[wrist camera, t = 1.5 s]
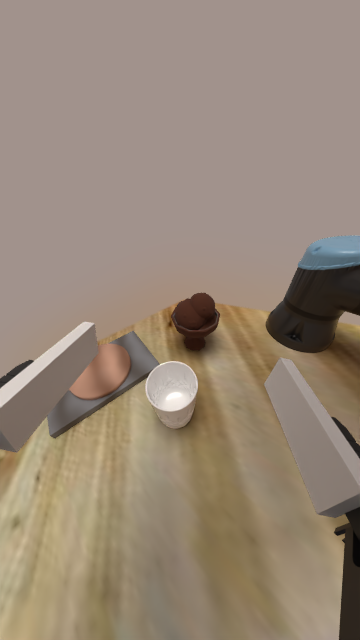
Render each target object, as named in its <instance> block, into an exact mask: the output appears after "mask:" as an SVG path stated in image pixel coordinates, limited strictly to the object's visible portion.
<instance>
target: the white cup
mask: <svg viewBox="0 0 360 640" xmlns="http://www.w3.org/2000/svg"><path fill="white" fill-rule="evenodd" d="M197 389H198V381H197V377H196V375H195V373H194V371H193V370H192V369H191V368H190V367H189V366H188V365H186V364H184V363H181V362H177V361H169V362H165V363H162V364H160V365H158V366H157V367H156V368H154V369H153V370H152V372H151V373H150V374H149V376H148V378H147V381H146V395H147V397H148V400H149V401H150V403H151V405H152V407H153V409H154V411H155V412H156V414H157V416H158V417H159V418H160V420H161V422H162V423H163V424H165V425H166V426H167V427H169V428H174V429H177V428H181V427H184V426H185V425H186V424H187V423H188V422H189V421H190V420H191V417H192V414H193V411H194V407H195V402H196V395H197Z"/></svg>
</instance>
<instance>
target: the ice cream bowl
mask: <svg viewBox="0 0 360 640" xmlns="http://www.w3.org/2000/svg"><path fill="white" fill-rule="evenodd" d="M219 317H220V313H219V312H218V311H217V310H216V309H215V302H214V300H213V299H212V298H211V297H210V296H209V295H208V294H206V293H197V294H194V295H193V296H192V297H191V299H186V300H184V301H181V302H180V303H179V304H178V305H177V307H176V308H175V310H174V311H173V313H172V315H171V318H172V320H173V323H174V325H175V327H176V329H177V331H178V332H179V333H181V334H183V335H185V336H187V337H186V340H185V342H184V343H185V345H186V347H187V348H188V349H190V350H200V349H202V348H203V347H204V345H205V340H204V337H205V336H207V335H209V334H210V333H212V332H213V331H214V330H215V329H216V328H217V325H218V322H219Z"/></svg>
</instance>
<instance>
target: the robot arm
mask: <svg viewBox="0 0 360 640" xmlns="http://www.w3.org/2000/svg"><path fill="white" fill-rule="evenodd" d="M345 311H346V312H350V313H353V314H356V315H359V316H360V236H337V237H330V238H324V239H321V240H318V241H316V242H314V243H312V244H311V245H310V246H309V247H308V248H307V250H306V252H305V254H304V256H303V258H302V260H301V261H300V262H299V263H298V268H297V271H296V273H295V275H294V277H293V280H292V282H291V284H290V286H289V289H288V291H287V293H286V295H285V297H284V299H283V301H282V302H281V303H280V304H279V305H278V306H277V307H276V308H275V309H274V310H273V311H272V312H271V313H270V314H269V316H268V319H267V321H266V327H267V330H268V332H269V333H270V334H271V336H272V337H273V338H275V339H276V340H277V341H278V342H280V343H281V344H283V345H285V346H287V347H289V348H292V349H295V350H298V351H303V352H320V351H323V350H325V349H326V348H327V347H328V346H329V345H330V344H331V343H332V341H333V340H334V337H335V330H336V327H337V323H338V320H339V318H340V316H341V315H342V314H343V313H344V312H345ZM98 353H99V352H98V345H97V337H96V330H95V324H94V323H90V322H83V323H82V324H81V325H79V326H78V327H77V328H75V329H74V330H73V331H72V332H70V333H69V334H68V335H67V336H65V337H64V338H63V339H62V340H60V341H59V342H58V343H57V344H55V345H54V346H53V347H52V348H51V349H49V350H48V351H47V352H45V353H44V354H43V355H42V356H40V357H39V358H38V359H37V360H35V361H33V360H29V361H26V362H25V363H22V364H20V365H19V366H17V367H15V368H14V369H13V370H11V371H10V372H9V373H7V375H6V376H3V377H2V378H1V379H0V449H2V450H7V451H12V452H18V451H19V450H20V448H21V447H22V446H23V445H24V443H25V442H26V441H27V440H28V439H29V437H30V436H31V435H32V434H33V432H34V431H35V430H36V429H37V428H38V426H39V425H40V424H41V423H42V421H43V420H44V419H45V418H46V417H47V415H48V414H49V413H50V412H51V410H52V409H53V408H54V407H55V406H56V404H57V403H58V402H59V401H60V399H61V398H62V397H63V396H64V395H65V393H66V392H67V391H68V390H69V388H70V387H71V386H72V385H73V384H74V382H75V381H76V380H77V379H78V377H79V376H80V375H81V374H82V373H83V371H84V370H85V369H86V368H87V366H88V365H89V364H90V363H91V362H92V360H93V359H94V358H95V357H96V355H97V354H98ZM264 385H265V388H266V390H267V393H268V395H269V397H270V400H271V402H272V405H273V407H274V410H275V412H276V415H277V417H278V420H279V422H280V424H281V427H282V429H283V432H284V434H285V437H286V439H287V442H288V444H289V446H290V449H291V451H292V454H293V456H294V459H295V461H296V464H297V466H298V468H299V471H300V473H301V476H302V478H303V481H304V483H305V486H306V488H307V490H308V493H309V495H310V498H311V500H312V503H313V505H314V508H315V510H316V513H317V514H319V515H324V516H329V517H334V518H336V517H339V516H341V515H343V514H346V516H347V518H348V520H349V522H350V523H348V524H345V525H343V526H340V527H337V528H336V529H335V531H334V533H335V534H336V535H337V536H338V535H341V534H344V533H345V538H344V539H343V540H342V541H343V542H344V543H345V548H344V564H343V581H342V598H341V614H340V631H339V640H360V446H359V445H358V444H357V443H356V441H355V439H354V438H353V437H352V435H351V434H350V432H349V431H348V430H347V428H345V427H344V426H343V425H342V424H341V423H340V422H339V421H338V420H337V419H336V418H334V417H330V415H329V414H328V412H327V411H326V409H325V408H324V406H323V405H322V404H321V402H320V401H319V399H318V398H317V396H316V395H315V393H314V392H313V391H312V389H311V388H310V386H309V385H308V383H307V382H306V380H305V379H304V378H303V376H302V375H301V373H300V372H299V370H298V369H297V367H296V366H295V365H294V363H293V362H292V360H290V359H285V358H279V360H278V362H277V363H276V365H275V367H274V368H273V370H272V372H271V373H270V375H269V377H268V378H267V380H266V382H265V383H264Z"/></svg>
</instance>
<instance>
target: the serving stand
mask: <svg viewBox="0 0 360 640" xmlns="http://www.w3.org/2000/svg"><path fill="white" fill-rule="evenodd" d="M98 352H99V353H98V354H97V355H96V357H95V358H94V359H93V360H92V362H91V363H90V364H89V365H88V366H87V368H86V369H85V370H84V371H83V373H82V374H81V375H80V376H79V377H78V379H77V380H76V381H75V382H74V384H73V385H72V386H71V387H70V388H69V390H68V391H67V392H66V393H65V395H64V396H63V397H62V398H61V399H60V401H59V402H58V403H57V404H56V406H55V407H54V408H53V409H52V410H51V412H50V413H49V414H48V415H47V418H48V426H49V433H50V436H51V437H53V438H56V437H57V436H59V435H60V434H62V433H63V432H65V431H66V430H68V429H69V428H71V427H73V426H74V425H76V424H77V423H79V422H80V421H82V420H83V419H85V418H86V417H88V416H89V415H91V414H92V413H94V412H95V411H97V410H98V409H100V408H101V407H103V406H104V405H106V404H107V403H109V402H110V401H112V400H113V399H115V398H116V397H118V396H120V395H121V394H123V393H124V392H126V391H127V390H129V389H130V388H132V387H133V386H135V385H136V384H138V383H139V382H141V381H142V380H144V379H145V378H147V377H148V376H149V374H150V373H151V372H152V370H153V369H154V368H156V367H157V366H158V365H160V364H159V363H158V361H157V360H156V359H155V358H154V356H153V355H152V354H151V353H150V351H149V350H148V349H147V347H146V346H145V345H144V344H143V342H142V341H141V340H140V339H139V337H138V336H137V335H136V334H135V332H134V331H132V332H130V333H128V334H126V335H124V336H122V337H120V338H118V339H116V340H114V341H112V342H110V343H108V344H102V345H98Z"/></svg>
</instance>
